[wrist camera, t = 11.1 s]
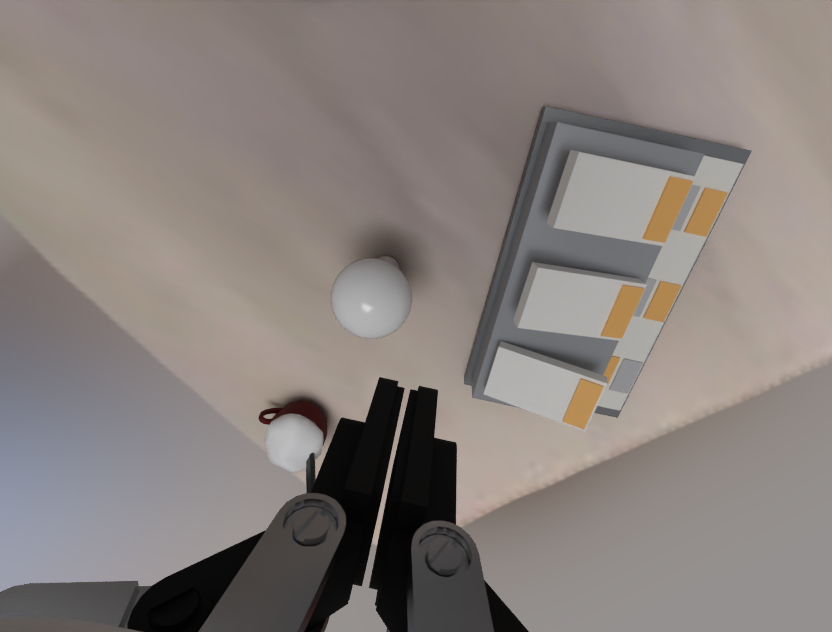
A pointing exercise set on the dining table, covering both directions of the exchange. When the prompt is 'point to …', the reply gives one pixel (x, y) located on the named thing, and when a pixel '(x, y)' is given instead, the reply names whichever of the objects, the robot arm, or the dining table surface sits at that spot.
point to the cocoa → (295, 437)
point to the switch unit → (601, 247)
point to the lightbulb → (371, 297)
